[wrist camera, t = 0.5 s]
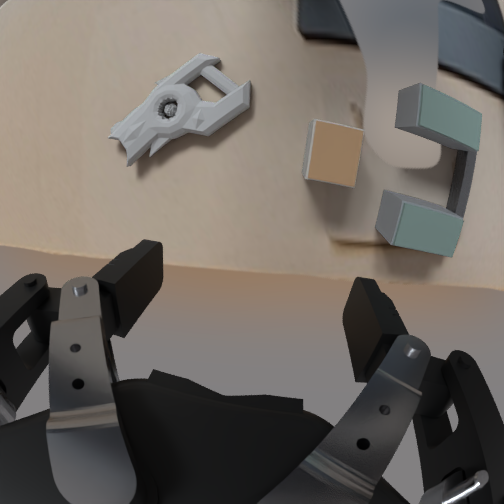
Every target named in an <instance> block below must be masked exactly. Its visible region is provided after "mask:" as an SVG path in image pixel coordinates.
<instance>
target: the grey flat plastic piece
mask: <svg viewBox="0 0 504 504" xmlns="http://www.w3.org/2000/svg"><path fill="white" fill-rule="evenodd" d="M220 61H221V60H220V58H218V57H214V56H210V55H206V54H201V53H199V54H198V55H196V56H195V57H194V58H192V59H191V60H189V61H188V62H187V63H185V64H184V65H183V66H181V67H180V68H179V69H177V70H176V71H175V72H174V73H172V74H171V75H169V76H167V77H165V78H163V79H161V80H159V81H157V82H156V84H157V85H158V86H157V87H155V88H154V89H153V91H152V92H151V93H150V95H149V96H148V97H147V99H146V100H145V102H143V103H142V104H141V105H140V106H139V107H136V108H135V109H134V110H133V111H132V112H131V113H130V114H129V115H128V116H127V117H126V118H125V119H124V120H123V121H120V122H117V123H116V124H115V125H114V126H113V127H112V128H111V135H110V136H109V137H108V138H109V139H115V140H120V141H121V143H122V144H123V146H124V147H125V149H126V152H127V167H128V166H131V165H132V164H133V163H134V162H135V161H137V160H138V159H139V158H140V157H141V156H142V155H143V154H144V153H145V152H146V151H147V150H148V149H149V148H150V147H151V150H150V156H149V157H151V156H152V155H153V154H154V153H156V152H157V151H158V150H159V149H160V148H162V147H163V146H164V145H165V144H167V143H168V142H169V141H170V140H172V139H176V138H178V137H181V136H183V135H185V134H187V133H189V132H190V133H195V134H200V135H205V136H210V135H211V134H213V133H214V132H215V131H217V130H218V129H219V128H221V127H222V126H224V125H225V124H226V123H228V122H229V121H231V120H232V119H233V118H235V117H236V116H238V115H239V114H241V113H242V112H244V111H245V110H247V109H248V108H250V85H251V82H250V80H249V81H247V82H245V83H244V84H242V85H241V86H238V85H237V84H235V83H234V82H233V81H232V80H230V79H229V78H228V77H227V76H225V75H224V74H223V73H222V72H220V71H219V70H218V69H216V68H215V67H214V65H215V64H217V63H218V62H220ZM200 75H202V76H203V77H205V78H206V79H207V80H209V81H210V82H211V83H213V84H214V85H215V86H217V87H218V88H219V89H220V90H222V91H223V92H224V93H225V94H227V95H226V96H225V97H223V98H222V99H220V100H219V101H218V102H216V103H214V102H207V101H202V99H201V98H200V96H199V94H198V93H197V91H195V90H194V89H192V88H190V87H189V86H187V85H188V84H189V83H190V82H192V81H193V80H194V79H196V78H197V77H198V76H200ZM174 101H176V102H177V103H178V105H177V106H176V105H175V104H174V103H173V102H174ZM170 102H172V103H173V104H172V103H171V104H169V103H170ZM165 113H166V115H167V116H173V115H174V116H173V118H172V117H171V118H169V119H167V117H165Z"/></svg>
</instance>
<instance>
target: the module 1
mask: <svg viewBox="0 0 504 504" xmlns="http://www.w3.org/2000/svg"><path fill="white" fill-rule="evenodd" d="M363 137H364V130H363V129H359V128H355V127H351V126H347V125H342V124H338V123H333V122H329V121H324V120H319V119H313V120H312V121H311V122H309V126H308V133H307V140H306V147H305V154H304V161H303V167H302V174H303V176H304V178H305V179H308V180H314V181H319V182H325V183H330V184H335V185H340V186H345V187H350V188H355V183H356V178H357V172H358V167H359V161H360V155H361V149H362V143H363Z"/></svg>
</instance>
